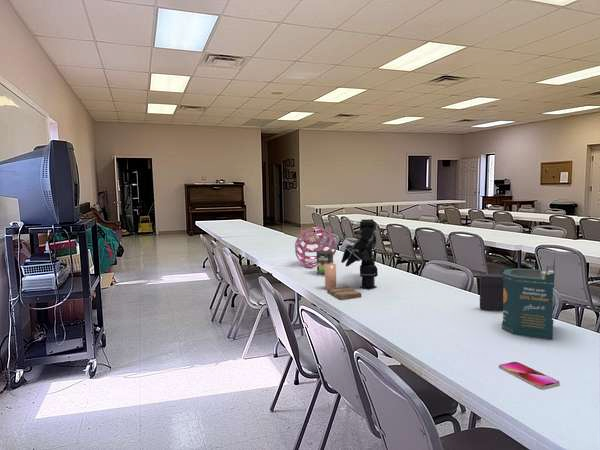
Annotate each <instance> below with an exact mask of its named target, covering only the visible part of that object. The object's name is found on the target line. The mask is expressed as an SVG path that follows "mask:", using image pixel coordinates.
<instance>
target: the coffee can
mask: <svg viewBox="0 0 600 450" xmlns="http://www.w3.org/2000/svg"><path fill="white" fill-rule="evenodd" d="M333 252H334V250H332V251H327V250H324V251H317V252H315V253H316V256H317V259H316V262H317V265H316V275H317V276H318V275H319V276H318V277H325V264H334V256H333Z"/></svg>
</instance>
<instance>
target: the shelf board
mask: <svg viewBox="0 0 600 450" xmlns="http://www.w3.org/2000/svg"><path fill="white" fill-rule="evenodd" d="M326 291H327V294H330V296H331V295H332V296H333V297H335V298H336V299H338V300H339V301H344V300H346V301H347V300H351V299H360V298H362V293H361V292H360V291H357V290H356V289H353V288H352V287H349V286H348V285H344V286H337V287H335V288H327V290H326Z"/></svg>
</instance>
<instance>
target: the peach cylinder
mask: <svg viewBox="0 0 600 450" xmlns="http://www.w3.org/2000/svg"><path fill="white" fill-rule="evenodd" d="M335 287H338V286H337V264H335V263H333V264H325V276H324V289H325V291H327V288H335Z"/></svg>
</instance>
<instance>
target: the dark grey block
mask: <svg viewBox="0 0 600 450" xmlns="http://www.w3.org/2000/svg"><path fill="white" fill-rule="evenodd" d="M503 292H504V280H503V274H488V273H487V274H486V273H484V274H480V275H479V309H480V311H487V312H489V311H490V312H500V313H501V312H502V313H503Z"/></svg>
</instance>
